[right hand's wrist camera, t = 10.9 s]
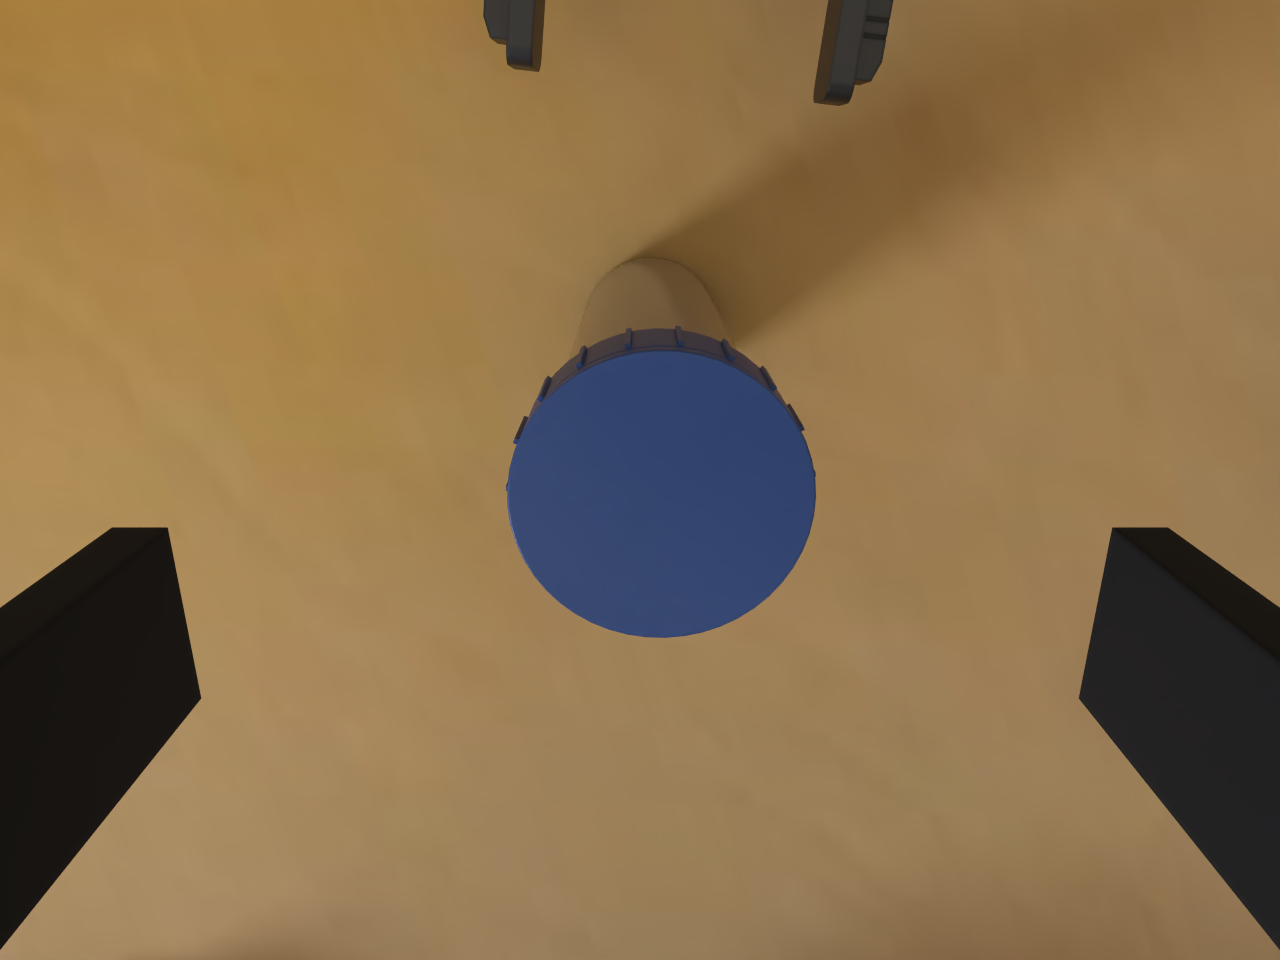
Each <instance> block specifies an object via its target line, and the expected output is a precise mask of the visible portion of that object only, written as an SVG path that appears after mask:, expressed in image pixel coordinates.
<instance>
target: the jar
mask: <svg viewBox="0 0 1280 960" xmlns="http://www.w3.org/2000/svg"><path fill="white" fill-rule="evenodd" d="M675 326H681V329H682V330H684V331H690V332H695V333H698V334H702V335H705V336H708V337H711V338H714V339H716V340H718V341H720V342H721V341H722V339H725V340H727V341H728V343H729V345H730V346H731V347H732V348H734V349H735V350H737V349H736V347H735V345H734V343H733V341H732V339H731V337H730V335H729V333H728V331H727V329H726V327H725V325H724V323H723V321H722V319H721V317H720V315H719V313H718V310H717V308H716V306H715V304H714V302H713V300H712V298H711V296H710V294H709V292H708V290H707V289H706V287H705V286H704V284H703V283H702V282H701V281H700V280H699V279H698V277H697V276H696V275H694V274H693V273H692V272H691V271H690V270H688V269H686V268H685V267H683V266H681V265H679V264H677V263H675V262H672V261H669V260H665V259H659V258H642V259H637V260H632V261H629V262H627V263H624V264H622V265H620V266H618V267H616V268H615V269H613V270H612V271H611V272H609V273H608V274H607V275H606V276H605V277H604V278H603V279H602V280H601V281H600V282H599V283H598V285H597V286H596V287H595V289H594V291H593V293H592V294H591V297H590V299H589V301H588V304H587V307H586V310H585V313H584V316H583V319H582V321H581V324H580V327H579V330H578V333H577V336H576V339H575V342H574V345H573V348H572V351H571V354H570V357H569V360H570V359H572V358H573V357H575V356H576V355H577V354H579V351H580V348H581V347H582V346H584V345H585V346H586V347H587V348H588V347H590V346H592V345H594V344H596V343H598V342H600V341H602V340H605V339H607V338H610V337H613V336H615V335H618V334H622V333H626V329H627V328H631V329H632V331H635V330H643V329H653V328H661V329H675ZM569 360H568V361H569Z"/></svg>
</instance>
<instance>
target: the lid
mask: <svg viewBox="0 0 1280 960" xmlns="http://www.w3.org/2000/svg"><path fill="white" fill-rule="evenodd" d="M803 430H805V429H804V427H803V425H802V423H801V421H800V420H799V418H798V416H797V415H796V413H795V411H794V410H793V408H792V406H791V405H790V404H788V405H786V403H785V402H784V400H783V398H782V396H781V395H780V393H779V392H778V390H777V387H776V385H775V384H774V382H773V380H772V378H771V377H770V375H769V373H768V372H767V370H766V368H765V367H764V366H762V367H761V368H759V367H758V366H757V365H755V364H754V363H753V362H752V361H751V360H749V359H748V358H747V357H746V356H745V355H743V354H742V353H740V352H738V351H737V350H735V349H734V348H732V347H731V346H730V345H729V343H728V341H727V340H725V339H722V341H721V342H720V341H718V340H716V339H714V338H711V337H708V336H705V335H702V334H698V333H695V332H690V331H684V330H682V329H681V326H675V329H661V328H653V329H643V330H635V331H632V329H631V328H627V329H626V333H622V334H618V335H615V336H613V337H610V338H607V339H605V340H602V341H600V342H598V343H596V344H594V345H592V346H590V347H588V348H587V347H586V346H585V345H584V346H582V347H581V348H580V351H579V354H577V355H576V356H575V357H573V358H572V359H570V360H569V361H568V362H567V363H566V364H565V365H564V366H563V367H561V368H560V369H559V370H558V371H557V372H556V373H555V374H554V376H553V377H552V378H550V377H549V376H547V378H546V379H545V381H544V383H543V385H542V388H541V390H540V393H539V395H538V398H537V400H536V401H535V403H534V405H533V408H532V410H531V412H530V415H529V417H526V416H524V418H523V420H522V423H521V425H520V427H519V430H518V432H517V434H516V436H515V439H514V442H513V443H514V444H517V446H516V448H515V450H514V454H513V458H512V462H511V465H510V469H509V478H508V482H507V485H506V491H507V501H508V512H509V518H510V525H511V528H512V531H513V535H514V538H515V541H516V544H517V546H518V548H519V550H520V553H521V555H522V557H523V559H524V561H525V562H526V564H527V566H528V567H529V569H530V570H531V572H532V573H533V575H534V576H535V577H536V579H537V580H538V581H539V582H540V583H541V585H542V586H543V587H544V588H545V589H546V590H547V591H548V592H549V593H550V594H551V595H552V596H553V597H554V598H555V599H556V600H557V601H559V602H560V603H561V604H562V605H564V606H565V607H566V608H568V609H569V610H571V611H572V612H574V613H575V614H577V615H579V616H580V617H582V618H584V619H586V620H588V621H590V622H591V623H594V624H596V625H599V626H601V627H604V628H606V629H609V630H613V631H616V632H620V633H624V634H628V635H635V636H642V637H660V638H667V637H678V636H687V635H691V634H696V633H701V632H705V631H708V630H711V629H714V628H717V627H720V626H722V625H724V624H727V623H729V622H731V621H733V620H735V619H737V618H739V617H741V616H742V615H744V614H746V613H747V612H749V611H750V610H752V609H754V608H755V607H756V606H757V605H759V604H760V603H761V602H762V601H764V600H765V599H766V598H767V597H769V596H770V595H771V594H772V593H773V591H774V590H775V589H776V588H777V587H778V586H779V585H780V584H781V583H782V582H783V581H784V579H785V578H786V577H787V575H788V574H789V573H790V571H791V570H792V569H793V567H794V565H795V564H796V562H797V560H798V558H799V557H800V555H801V553H802V551H803V549H804V546H805V544H806V541H807V539H808V536H809V533H810V529H811V525H812V521H813V517H814V510H815V501H816V486H815V477H816V474H815V471H814V469H813V463H812V458H811V455H810V452H809V449H808V446H807V443H806V440H805V438H804V436H803V434H802V432H801V431H803Z"/></svg>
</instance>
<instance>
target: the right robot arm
mask: <svg viewBox="0 0 1280 960" xmlns="http://www.w3.org/2000/svg"><path fill="white" fill-rule="evenodd" d="M200 699H201V695H200V690H199V685H198V680H197V675H196V669H195V664H194V659H193V654H192V649H191V644H190V639H189V634H188V629H187V624H186V619H185V613H184V608H183V603H182V598H181V593H180V588H179V583H178V578H177V573H176V568H175V563H174V558H173V552H172V547H171V542H170V537H169V532H168V528H111V529H109V530H108V531H107V532H105V533H104V534H102V535H101V536H100V537H98V538H97V539H95V540H94V541H93V542H91V543H90V544H88V545H87V546H86V547H84V548H83V549H82V550H80V551H79V552H77V553H76V554H75V555H73V556H72V557H70V558H69V559H68V560H66V561H65V562H63V563H62V564H61V565H59V566H58V567H56V568H55V569H54V570H52V571H51V572H49V573H48V574H47V575H45V576H44V577H42V578H41V579H40V580H38V581H37V582H35V583H34V584H33V585H31V586H30V587H28V588H27V589H26V590H24V591H23V592H22V593H20V594H19V595H17V596H16V597H15V598H13V599H12V600H10V601H9V602H8V603H6V604H5V605H3V606H2V607H1V608H0V949H1V948H2V947H3V946H4V944H5V943H6V942H7V941H8V939H9V938H10V937H11V936H12V934H13V933H14V932H15V931H16V929H17V928H18V927H19V926H20V924H21V923H22V922H23V921H24V919H25V918H26V917H27V916H28V914H29V913H30V912H31V911H32V909H33V908H34V907H35V906H36V904H37V903H38V902H39V901H40V899H41V898H42V897H43V896H44V894H45V893H46V892H47V891H48V889H49V888H50V887H51V886H52V884H53V883H54V882H55V881H56V879H57V878H58V877H59V876H60V874H61V873H62V872H63V871H64V869H65V868H66V867H67V866H68V864H69V863H70V862H71V861H72V859H73V858H74V857H75V856H76V854H77V853H78V852H79V851H80V849H81V848H82V847H83V846H84V844H85V843H86V842H87V841H88V839H89V838H90V837H91V836H92V834H93V833H94V832H95V831H96V829H97V828H98V827H99V826H100V824H101V823H102V822H103V821H104V819H105V818H106V817H107V816H108V814H109V813H110V812H111V811H112V809H113V808H114V807H115V806H116V804H117V803H118V802H119V801H120V799H121V798H122V797H123V796H124V794H125V793H126V792H127V791H128V789H129V788H130V787H131V786H132V784H133V783H134V782H135V781H136V779H137V778H138V777H139V776H140V774H141V773H142V772H143V771H144V769H145V768H146V767H147V766H148V764H149V763H150V762H151V761H152V759H153V758H154V757H155V756H156V754H157V753H158V752H159V751H160V749H161V748H162V747H163V746H164V744H165V743H166V742H167V740H168V739H169V738H170V737H171V735H172V734H173V733H174V732H175V730H176V729H177V728H178V727H179V725H180V724H181V723H182V722H183V720H184V719H185V718H186V717H187V715H188V714H189V713H190V712H191V710H192V709H193V708H194V707H195V705H196V704H197V703H198V702H199V700H200ZM1079 699H1080V700H1081V702H1082V703H1083V704H1084V705H1085V707H1086V708H1087V709H1088V710H1089V712H1090V713H1091V714H1092V715H1093V717H1094V718H1095V719H1096V720H1097V722H1098V723H1099V724H1100V725H1101V727H1102V728H1103V729H1104V730H1105V732H1106V733H1107V734H1108V735H1109V737H1110V738H1111V739H1112V740H1113V742H1114V743H1115V744H1116V745H1117V747H1118V748H1119V749H1120V750H1121V752H1122V753H1123V754H1124V755H1125V757H1126V758H1127V759H1128V760H1129V762H1130V763H1131V764H1132V765H1133V767H1134V768H1135V769H1136V771H1137V772H1138V773H1139V774H1140V776H1141V777H1142V778H1143V779H1144V781H1145V782H1146V783H1147V784H1148V786H1149V787H1150V788H1151V789H1152V791H1153V792H1154V793H1155V794H1156V796H1157V797H1158V798H1159V799H1160V801H1161V802H1162V803H1163V804H1164V806H1165V807H1166V808H1167V809H1168V811H1169V812H1170V813H1171V814H1172V816H1173V817H1174V818H1175V819H1176V821H1177V822H1178V823H1179V824H1180V826H1181V827H1182V828H1183V829H1184V831H1185V832H1186V833H1187V834H1188V836H1189V837H1190V838H1191V839H1192V841H1193V842H1194V843H1195V844H1196V846H1197V847H1198V848H1199V849H1200V851H1201V852H1202V853H1203V854H1204V856H1205V857H1206V858H1207V859H1208V861H1209V862H1210V863H1211V864H1212V866H1213V867H1214V868H1215V869H1216V871H1217V872H1218V873H1219V874H1220V876H1221V877H1222V878H1223V879H1224V881H1225V882H1226V883H1227V884H1228V886H1229V887H1230V888H1231V889H1232V891H1233V892H1234V893H1235V894H1236V896H1237V897H1238V898H1239V899H1240V901H1241V902H1242V903H1243V904H1244V906H1245V907H1246V908H1247V909H1248V911H1249V912H1250V913H1251V914H1252V916H1253V917H1254V918H1255V919H1256V921H1257V922H1258V923H1259V924H1260V926H1261V927H1262V928H1263V929H1264V931H1265V932H1266V933H1267V934H1268V936H1269V937H1270V938H1271V939H1272V941H1273V942H1274V943H1275V944H1276V946H1277V947H1278V948H1279V949H1280V608H1279V607H1278V606H1277V605H1275V604H1274V603H1272V602H1271V601H1270V600H1268V599H1267V598H1265V597H1264V596H1263V595H1261V594H1260V593H1259V592H1257V591H1256V590H1254V589H1253V588H1252V587H1250V586H1249V585H1247V584H1246V583H1245V582H1243V581H1242V580H1240V579H1239V578H1238V577H1236V576H1235V575H1233V574H1232V573H1231V572H1229V571H1228V570H1226V569H1225V568H1224V567H1222V566H1221V565H1219V564H1218V563H1217V562H1215V561H1214V560H1212V559H1211V558H1210V557H1208V556H1207V555H1205V554H1204V553H1203V552H1201V551H1200V550H1198V549H1197V548H1196V547H1194V546H1193V545H1192V544H1190V543H1189V542H1187V541H1186V540H1185V539H1183V538H1182V537H1180V536H1179V535H1178V534H1176V533H1175V532H1173V531H1172V530H1171V529H1169V528H1112V532H1111V537H1110V542H1109V547H1108V553H1107V558H1106V563H1105V568H1104V573H1103V578H1102V583H1101V588H1100V593H1099V598H1098V603H1097V608H1096V614H1095V619H1094V624H1093V629H1092V634H1091V639H1090V644H1089V649H1088V654H1087V659H1086V664H1085V670H1084V675H1083V680H1082V685H1081V690H1080V695H1079Z"/></svg>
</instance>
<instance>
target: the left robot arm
mask: <svg viewBox="0 0 1280 960" xmlns="http://www.w3.org/2000/svg"><path fill="white" fill-rule="evenodd" d="M892 4H893V0H828V6H827V12H826V19H825V25H824V31H823V37H822V44H821V50H820V56H819V62H818V68H817V75H816V81H815V87H814V103H819V104H828V105H836V106H840V105H844V104H848V103H849V101H850V99H851V96H852V93H853V89H854V85H861V84H864V83H868V82H871V80H872V79H873V77H874V75H875V73H876V72H877V70H878V68H879V66H880V64H881V63H882V59H883V53H884V48H885V42H886V36H887V31H888V26H889V19H890V15H891V10H892ZM544 10H545V0H484V14H483V16H484V19H485V23H486V26H487V29H488V33H489V36H490V38H491V39H492V40H494V41H495V42H496V43H498V44H504V45H506V57H507V64H508V65H509V66H510V67H512V68H514V69H519V70H527V71H536V72H539V70H540V66H541V56H542V41H543V26H544Z"/></svg>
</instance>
